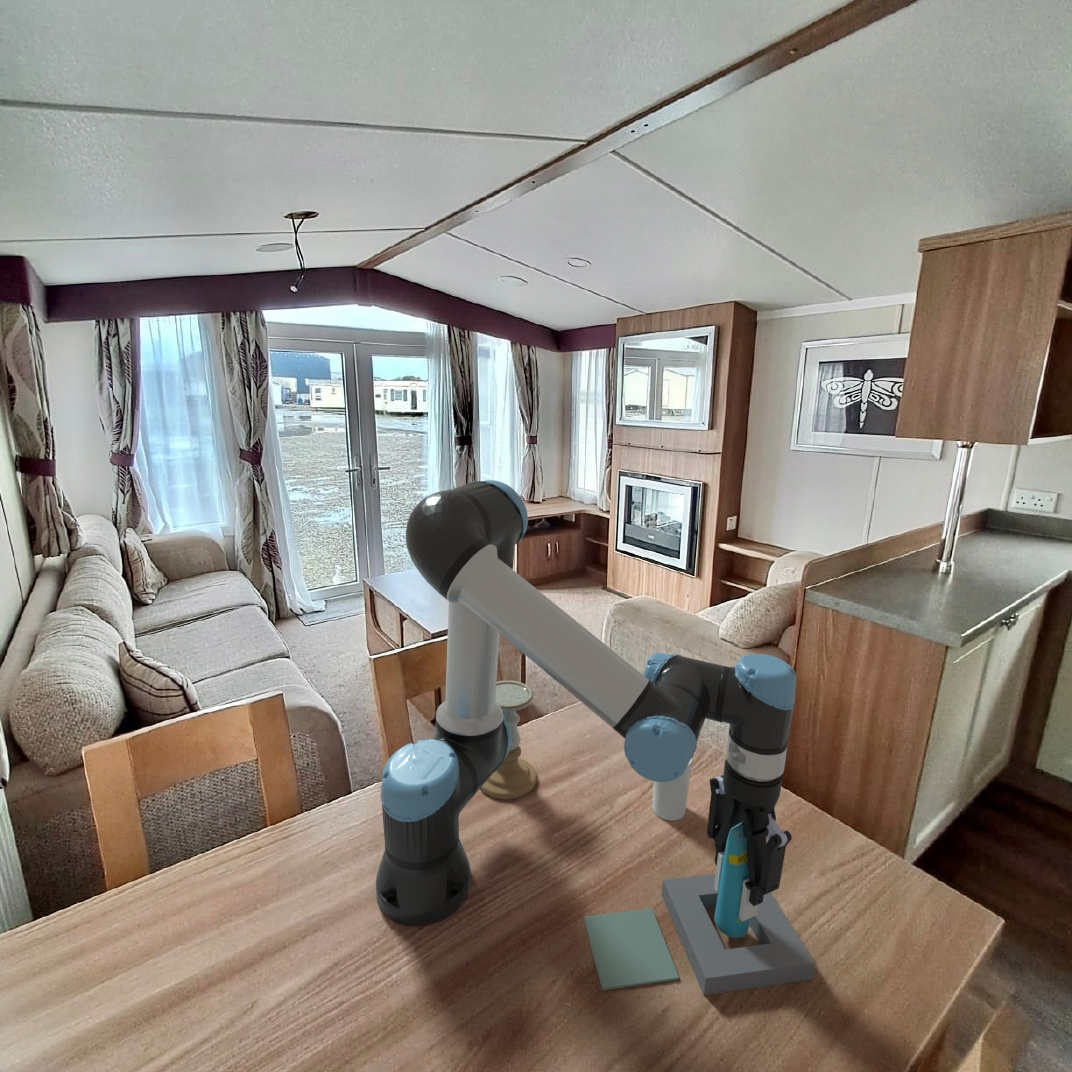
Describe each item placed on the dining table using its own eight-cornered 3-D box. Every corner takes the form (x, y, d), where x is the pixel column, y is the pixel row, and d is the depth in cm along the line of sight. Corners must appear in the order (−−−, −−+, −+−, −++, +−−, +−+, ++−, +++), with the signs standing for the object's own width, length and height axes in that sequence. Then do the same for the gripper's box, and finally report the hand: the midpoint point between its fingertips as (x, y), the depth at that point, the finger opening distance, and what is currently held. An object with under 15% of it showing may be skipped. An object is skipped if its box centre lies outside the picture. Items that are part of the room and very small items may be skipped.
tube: (732, 950, 82) (748, 839, 78) (703, 926, 86) (716, 818, 81) (759, 920, 87) (775, 813, 82) (730, 899, 91) (744, 795, 86)
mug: (693, 817, 110) (699, 763, 107) (663, 826, 108) (668, 770, 105) (664, 784, 119) (669, 733, 116) (636, 791, 117) (640, 739, 114)
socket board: (703, 995, 78) (705, 978, 77) (661, 894, 93) (662, 879, 93) (811, 979, 81) (815, 962, 80) (753, 884, 96) (755, 869, 95)
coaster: (602, 990, 79) (602, 988, 78) (583, 918, 89) (583, 916, 89) (678, 979, 80) (679, 977, 80) (651, 910, 91) (652, 908, 91)
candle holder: (535, 801, 114) (538, 710, 109) (473, 799, 114) (472, 708, 109) (536, 761, 126) (538, 678, 120) (480, 760, 126) (479, 676, 121)
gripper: (690, 736, 86) (677, 864, 92) (783, 816, 70) (759, 964, 76) (730, 725, 89) (714, 850, 95) (827, 799, 73) (801, 944, 79)
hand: (734, 901), depth 85 cm, fingers closed on tube, 5 cm apart
